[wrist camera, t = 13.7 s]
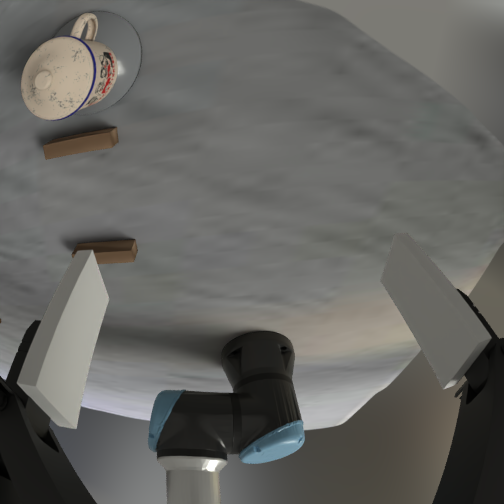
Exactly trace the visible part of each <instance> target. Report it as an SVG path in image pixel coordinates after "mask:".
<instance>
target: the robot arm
mask: <svg viewBox="0 0 504 504" xmlns="http://www.w3.org/2000/svg"><path fill="white" fill-rule="evenodd" d="M381 282H382V284H383V286H384V287H385V289H386V290H387V292H388V293H389V295H390V297H391V298H392V300H393V301H394V303H395V305H396V306H397V308H398V310H399V311H400V313H401V315H402V316H403V318H404V320H405V321H406V323H407V325H408V326H409V328H410V330H411V331H412V333H413V335H414V337H415V338H416V340H417V342H418V344H419V345H420V347H421V349H422V351H423V353H424V354H425V356H426V358H427V360H428V362H429V364H430V365H431V367H432V369H433V371H434V373H435V375H436V377H437V379H438V381H439V383H440V384H441V386H442V388H443V389H446V388H448V387H451V386H453V385H455V384H457V383H458V382H459V381H460V379H461V378H462V377H463V376H464V375H465V377H466V379H467V381H466V382H465V383H464V384H463V385H462V387H461V388H460V389H459V390H458V391H457V392H456V394H455V397H457V396H458V395H459V394H460V393H461V392H462V391H463V392H462V396H461V397H460V399H461V404H460V409H459V414H458V419H457V423H456V428H455V432H454V436H453V440H452V445H451V448H450V452H449V455H448V459H447V462H446V466H445V469H444V472H443V475H442V478H441V481H440V484H439V487H438V490H437V493H436V495H435V498H434V501H433V503H432V504H504V338H500V339H499V338H498V337H497V335H496V334H495V333H494V331H493V330H492V328H491V327H490V325H489V324H488V323H487V321H486V320H485V318H484V317H483V316H482V315H481V314H480V313H479V311H478V309H477V308H476V307H474V304H473V303H472V301H471V300H470V299H469V297H468V296H467V295H465V294H464V293H463V292H462V291H460V290H459V289H456V288H455V287H454V286H453V285H452V283H451V282H450V281H449V280H448V279H447V277H446V276H445V275H444V274H443V272H442V271H441V270H440V269H439V268H438V267H437V265H436V264H435V263H434V262H433V261H432V260H431V258H430V257H429V256H428V255H427V254H426V253H425V252H424V250H423V249H422V248H421V247H420V246H419V245H418V244H417V243H416V241H415V240H414V239H413V238H412V237H411V236H410V235H409V234H408V233H395V234H394V238H393V241H392V245H391V248H390V252H389V255H388V259H387V262H386V265H385V268H384V272H383V275H382V278H381ZM108 302H109V297H108V294H107V291H106V288H105V285H104V283H103V280H102V277H101V274H100V271H99V268H98V265H97V262H96V258H95V255H94V252H93V250H81V251H77V253H76V254H75V256H74V258H73V260H72V261H71V263H70V265H69V267H68V269H67V270H66V272H65V274H64V276H63V278H62V280H61V282H60V284H59V286H58V288H57V289H56V291H55V293H54V295H53V297H52V300H51V302H50V304H49V306H48V308H47V310H46V312H45V314H44V316H43V319H42V321H40V320H35V321H34V322H33V323H32V324H31V326H30V327H29V328H28V329H27V330H26V332H25V335H24V337H23V339H22V343H21V344H20V346H19V348H18V352H17V353H16V356H15V358H14V361H13V363H12V366H11V368H10V371H9V373H8V376H7V379H6V382H5V381H4V380H3V379H2V377H1V376H0V504H97V503H96V502H95V500H94V499H93V498H92V496H91V495H90V493H89V492H88V490H87V489H86V487H85V486H84V485H83V483H82V481H81V480H80V478H79V477H78V475H77V473H76V472H75V470H74V469H73V467H72V465H71V463H70V462H69V460H68V458H67V457H66V455H65V453H64V451H63V449H62V448H61V446H60V444H59V442H58V440H57V438H56V436H55V434H54V432H53V430H52V429H51V428H50V426H49V423H50V419H52V420H53V421H54V422H55V423H56V424H57V425H58V426H62V427H68V428H73V429H76V428H77V422H78V417H79V411H80V407H81V402H82V397H83V393H84V388H85V384H86V380H87V376H88V371H89V367H90V364H91V360H92V356H93V352H94V348H95V345H96V341H97V338H98V334H99V331H100V327H101V324H102V321H103V317H104V314H105V311H106V308H107V305H108ZM294 360H295V353H294V349H293V346H292V343H291V342H290V340H289V339H288V338H286V337H285V336H283V335H281V334H278V333H273V332H253V333H248V334H245V335H242V336H239V337H237V338H235V339H234V340H232V341H231V342H229V343H228V344H227V345H226V346H225V348H224V349H223V351H222V366H223V369H224V372H225V374H226V376H227V378H228V380H229V382H230V384H231V386H232V388H233V393H217V392H198V391H186V390H164V391H162V392H160V393H159V394H158V395H157V397H156V400H155V402H154V406H153V410H152V414H151V419H150V426H149V438H148V445H149V449H150V450H152V451H153V452H157V461H158V462H159V463H160V464H161V465H162V466H163V467H164V468H165V470H166V485H167V504H221V496H220V482H219V472H220V470H221V469H222V468H223V467H224V466H225V465H226V464H227V454H239V458H240V459H241V461H242V462H243V463H250V464H256V463H264V462H269V461H272V460H276V459H280V458H282V457H285V456H287V455H289V454H291V453H293V452H295V451H296V450H298V449H299V448H300V447H301V446H302V445H303V443H304V440H305V437H304V430H303V421H302V419H301V414H300V410H299V406H298V402H297V398H296V394H295V390H294V386H293V382H292V375H293V367H294Z"/></svg>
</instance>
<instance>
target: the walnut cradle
mask: <svg viewBox="0 0 504 504" xmlns="http://www.w3.org/2000/svg"><path fill="white" fill-rule="evenodd" d="M117 143H118V134H117V127H116V128H110V129H104V130H98V131H92V132H87V133H82V134H77V135H72V136H67V137H62V138H58V139H54V140H52V141H50V142H48V143H46V144H45V145H43V148H44V154H45V159H46V160H47V159H51V158H56V157H61V156H66V155H72V154H77V153H82V152H88V151H94V150H100V149H107V148H112V147H113V146H114V145H115V144H117ZM81 250H93V252H94V255H95V258H96V262H97V264H108V263H126V262H134V260H135V257H136V254H137V251H138V250H137V245H136V241H135V239H134V240H120V241H106V242H93V243H80V244H77V246H76V248H75V250H74V251H73V253H72V257H73V258H74V256H75V254H76V253H77V251H81Z"/></svg>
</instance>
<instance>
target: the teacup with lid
mask: <svg viewBox="0 0 504 504" xmlns="http://www.w3.org/2000/svg"><path fill="white" fill-rule="evenodd" d="M86 23H88V29H87V33H86V37H85V40H81V39H80V37H81V34H82V31H83V29H84V27H85V25H86ZM97 29H98V21H97V17H96V16H95V15H94V14H92V13H84V14H82V15H81V16H80V17H79V18H78V19H77V21H76V22H75V24H74V26H73V29H72V32H71V35H70V36H58V37H55V38H52V39H50V40H48V41H46V42H45V43H43V44H42V45H41V46H39V47H38V48H37V49H36V50H35V51H34V52H33V54H32V55H31V56H30V58H29V59H28V61H27V63H26V65H25V68H24V70H23V74H22V79H21V92H22V97H23V100H24V102H25V104H26V106H27V107H28V109H29V110H30V111H31V112H32V113H33V114H34V115H36V116H37V117H39V118H42V119H45V120H51V121H55V120H61V119H64V118H67V117H69V116H71V115H72V114H74V113H75V112H77V111H78V110H80V109H83V108H86V107H88V106H91V105H93V104H96V103H98V102H99V101H101V100H102V99H103V98H105V97H106V96H107V95H108V93H109V92H110V91H111V89H112V88H113V86H114V84H115V81H116V78H117V73H118V64H117V60H116V57H115V55H114V53H113V52H112V50H111V49H110V48H109V47H108V46H106V45H105V44H102V43H100V42H95V41H94V40H95V37H96V33H97Z"/></svg>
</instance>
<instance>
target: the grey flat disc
mask: <svg viewBox="0 0 504 504" xmlns="http://www.w3.org/2000/svg"><path fill="white" fill-rule="evenodd" d="M90 13H92V14H94V15H95V16H96V17H97V21H98V29H97V33H96V37H95V40H94V41H95V42H100V43H102V44H105V45H106V46H108V47H109V48H110V49H111V50H112V52H113V53H114V55H115V57H116V60H117V64H118V73H117V78H116V81H115V84H114V86H113V88H112V89H111V91H110V92H109V93H108V95H107V96H106V97H105V98H103V99H102V100H101V101H99V102H98V103H96V104H93V105H91V106H88V107H86V108H83V109H80V110H78V111H77V112H75V113H74V114H76V115H88V114H93V113H97V112H100V111H102V110H105V109H107V108H109V107H110V106H112V105H114V104H115V103H117V102H118V101H119V100H120V99H121V98H122V97H124V95H125V94H126V93H127V92H128V91H129V89H130V88H131V87H132V85H133V83H134V82H135V80H136V78H137V75H138V73H139V70H140V66H141V61H142V46H141V42H140V38H139V36H138V33H137V32H136V30H135V28H134V27H133V26H132V25H131V24H130V23H129V22H128V21H127V20H126V19H124V18H122V17H121V16H119V15H116V14H113V13H110V12H102V11H98V12H90ZM80 16H81V15H80ZM80 16H78V17H76V18H74V19H73V20H71V21H70V22H68V23H67V24H66V25H64V26H63V27H62V28H61V29H60V30H59V31H58V32H57V33H56V35H55V36H54V37H53V38H55V37H58V36H70V35H71V32H72V29H73V26H74V24H75V22H76V21H77V19H78V18H79V17H80ZM87 29H88V23H86V25H85V27H84V29H83V31H82V34H81V37H80V39H81V40H85V37H86V33H87Z"/></svg>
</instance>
